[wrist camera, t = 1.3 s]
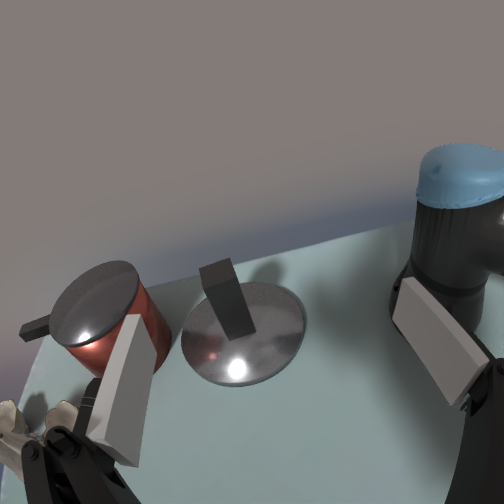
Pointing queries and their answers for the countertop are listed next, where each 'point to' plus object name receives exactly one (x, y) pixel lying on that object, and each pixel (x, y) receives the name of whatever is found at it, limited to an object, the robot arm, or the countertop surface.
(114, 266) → the pot
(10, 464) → the chinaware
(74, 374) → the countertop surface
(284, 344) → the lid
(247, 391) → the countertop surface
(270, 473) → the countertop surface
